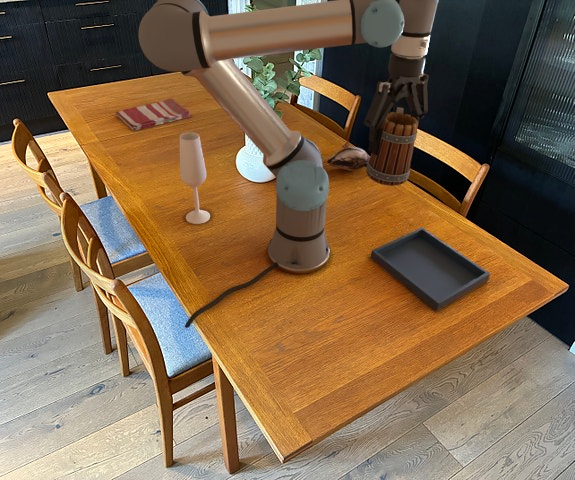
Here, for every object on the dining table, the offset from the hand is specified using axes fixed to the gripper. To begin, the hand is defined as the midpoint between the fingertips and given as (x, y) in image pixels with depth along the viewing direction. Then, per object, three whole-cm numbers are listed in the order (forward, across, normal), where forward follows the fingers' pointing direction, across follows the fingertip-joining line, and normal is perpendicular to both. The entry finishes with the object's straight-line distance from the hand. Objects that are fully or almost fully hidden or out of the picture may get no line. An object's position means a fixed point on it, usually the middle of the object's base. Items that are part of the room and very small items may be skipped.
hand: (391, 147), depth 114 cm
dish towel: (+24, -26, +98) cm, 104 cm away
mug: (+7, 0, 0) cm, 7 cm away
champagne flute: (+24, -40, +29) cm, 55 cm away
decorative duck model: (+24, +12, +25) cm, 37 cm away
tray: (+23, -2, -20) cm, 31 cm away
